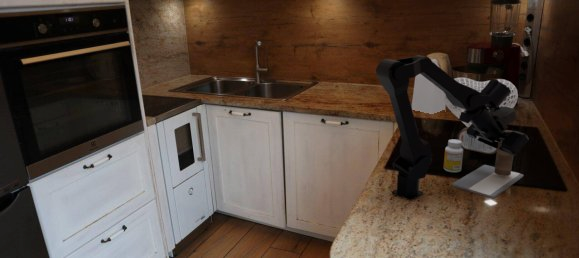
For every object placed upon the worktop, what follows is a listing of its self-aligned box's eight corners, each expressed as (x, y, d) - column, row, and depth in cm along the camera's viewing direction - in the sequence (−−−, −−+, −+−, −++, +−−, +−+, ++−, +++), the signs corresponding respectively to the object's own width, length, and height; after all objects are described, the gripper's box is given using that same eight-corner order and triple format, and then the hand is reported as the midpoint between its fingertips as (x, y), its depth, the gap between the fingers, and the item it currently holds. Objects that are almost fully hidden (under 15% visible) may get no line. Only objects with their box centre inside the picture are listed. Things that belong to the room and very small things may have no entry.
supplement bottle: (446, 165, 139) (449, 137, 136) (463, 168, 135) (466, 140, 133) (440, 170, 135) (443, 141, 132) (457, 174, 131) (460, 144, 129)
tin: (501, 154, 147) (504, 132, 145) (498, 157, 145) (501, 134, 143) (458, 146, 157) (461, 124, 155) (455, 148, 155) (457, 126, 153)
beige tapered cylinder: (510, 176, 124) (516, 135, 120) (493, 174, 126) (498, 133, 123) (511, 171, 128) (517, 131, 124) (494, 169, 130) (500, 129, 126)
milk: (424, 108, 213) (428, 57, 206) (445, 112, 205) (449, 59, 198) (410, 112, 206) (414, 60, 199) (431, 117, 198) (435, 62, 190)
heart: (510, 128, 177) (517, 77, 171) (514, 139, 163) (522, 83, 157) (440, 123, 187) (445, 74, 181) (439, 132, 173) (443, 80, 167)
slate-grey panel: (493, 198, 115) (493, 196, 114) (451, 185, 123) (451, 183, 123) (523, 176, 129) (523, 174, 128) (484, 166, 137) (484, 164, 137)
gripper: (528, 106, 111) (553, 141, 117) (478, 93, 128) (502, 124, 134) (500, 137, 111) (527, 170, 117) (454, 120, 128) (479, 150, 134)
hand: (508, 152), depth 126 cm, fingers closed on beige tapered cylinder, 4 cm apart
